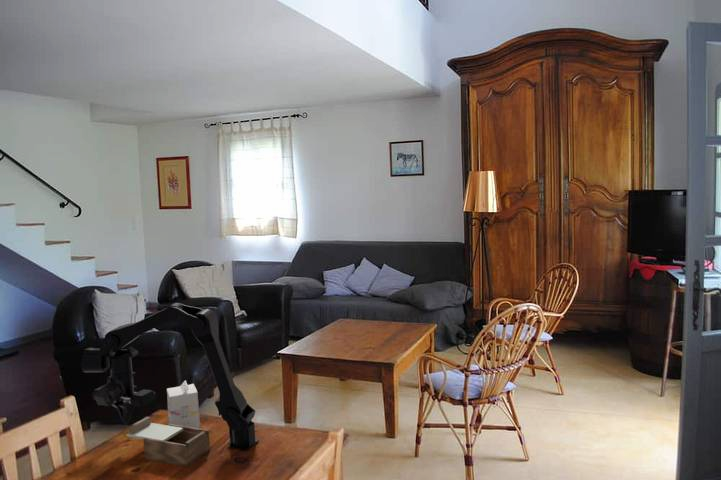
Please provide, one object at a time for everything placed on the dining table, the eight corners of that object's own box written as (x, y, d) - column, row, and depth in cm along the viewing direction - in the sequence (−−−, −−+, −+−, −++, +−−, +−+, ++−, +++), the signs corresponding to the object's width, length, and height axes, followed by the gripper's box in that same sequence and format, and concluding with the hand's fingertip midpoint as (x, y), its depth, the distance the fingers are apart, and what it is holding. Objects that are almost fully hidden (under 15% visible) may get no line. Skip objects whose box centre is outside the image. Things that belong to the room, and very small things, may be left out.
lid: (183, 430, 164) (182, 421, 164) (163, 442, 157) (162, 433, 157) (147, 424, 169) (147, 415, 169) (126, 436, 162) (125, 427, 162)
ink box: (168, 424, 182) (165, 382, 180) (195, 418, 185) (193, 377, 184) (172, 434, 174) (168, 391, 173) (200, 428, 178) (197, 386, 176)
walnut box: (210, 450, 163) (208, 429, 162) (186, 467, 154) (184, 445, 153) (170, 443, 168) (168, 423, 167) (145, 459, 159) (143, 438, 158)
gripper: (73, 377, 162) (79, 431, 163) (125, 384, 155) (130, 440, 156) (105, 365, 172) (110, 416, 174) (154, 370, 165) (159, 423, 166)
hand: (126, 424), depth 167 cm, fingers closed
